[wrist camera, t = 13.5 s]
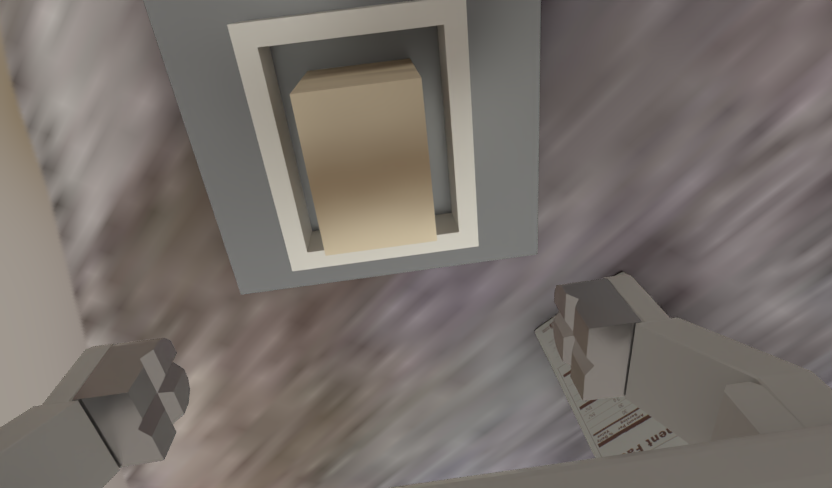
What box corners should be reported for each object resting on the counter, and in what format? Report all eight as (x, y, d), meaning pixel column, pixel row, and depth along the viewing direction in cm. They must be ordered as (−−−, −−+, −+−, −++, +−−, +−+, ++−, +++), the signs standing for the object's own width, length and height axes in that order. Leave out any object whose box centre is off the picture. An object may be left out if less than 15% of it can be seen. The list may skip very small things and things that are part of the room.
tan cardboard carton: (307, 70, 23) (289, 94, 18) (409, 58, 24) (421, 77, 18) (334, 203, 27) (325, 255, 21) (423, 191, 27) (437, 240, 22)
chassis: (142, -30, 22) (105, -33, 19) (535, -77, 22) (561, -87, 19) (244, 285, 30) (230, 319, 27) (532, 246, 30) (551, 275, 27)
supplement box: (670, 332, 35) (814, 494, 23) (582, 386, 36) (677, 561, 25) (623, 265, 32) (762, 415, 20) (529, 328, 33) (610, 498, 22)
